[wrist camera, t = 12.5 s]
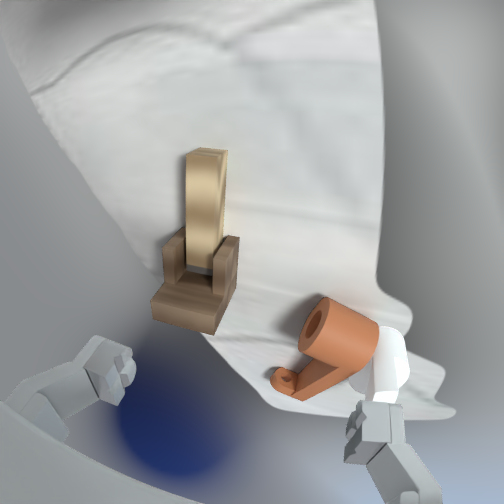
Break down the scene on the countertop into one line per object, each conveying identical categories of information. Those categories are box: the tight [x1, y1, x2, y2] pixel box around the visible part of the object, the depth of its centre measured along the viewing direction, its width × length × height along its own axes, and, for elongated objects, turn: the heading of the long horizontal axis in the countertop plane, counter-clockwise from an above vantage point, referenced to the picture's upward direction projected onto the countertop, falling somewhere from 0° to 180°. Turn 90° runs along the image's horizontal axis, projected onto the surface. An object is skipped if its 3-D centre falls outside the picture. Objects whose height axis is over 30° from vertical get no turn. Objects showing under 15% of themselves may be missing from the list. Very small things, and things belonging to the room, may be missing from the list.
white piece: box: [348, 326, 410, 403], centre depth 40 cm, size 9×9×12 cm
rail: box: [186, 148, 228, 276], centre depth 38 cm, size 15×4×4 cm, turn 175°
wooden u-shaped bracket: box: [150, 227, 240, 335], centre depth 39 cm, size 8×8×10 cm
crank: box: [270, 297, 379, 401], centre depth 44 cm, size 20×8×8 cm, turn 155°
